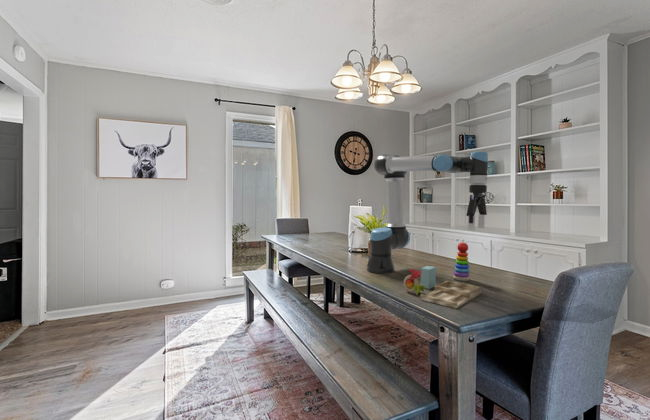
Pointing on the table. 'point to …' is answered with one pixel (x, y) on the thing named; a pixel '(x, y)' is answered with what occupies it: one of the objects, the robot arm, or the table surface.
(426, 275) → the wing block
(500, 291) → the table surface
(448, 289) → the jig
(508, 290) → the table surface
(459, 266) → the stacking toy
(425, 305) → the table surface
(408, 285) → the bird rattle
